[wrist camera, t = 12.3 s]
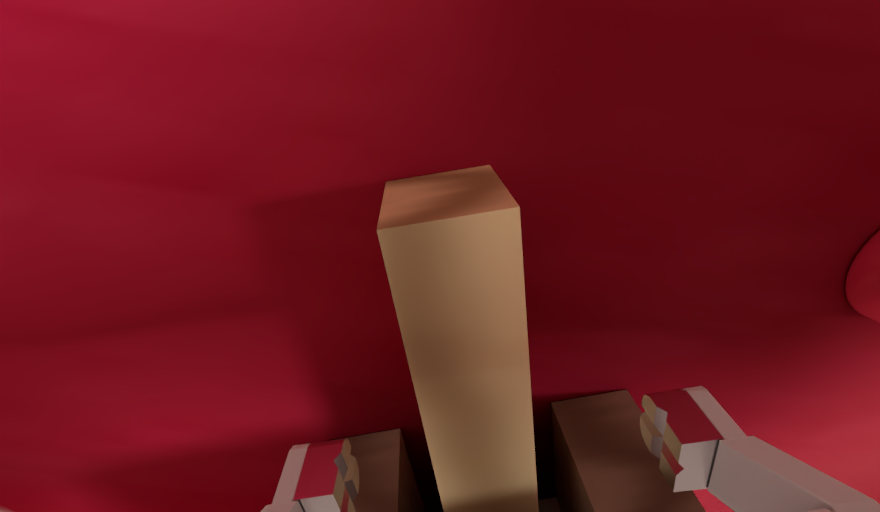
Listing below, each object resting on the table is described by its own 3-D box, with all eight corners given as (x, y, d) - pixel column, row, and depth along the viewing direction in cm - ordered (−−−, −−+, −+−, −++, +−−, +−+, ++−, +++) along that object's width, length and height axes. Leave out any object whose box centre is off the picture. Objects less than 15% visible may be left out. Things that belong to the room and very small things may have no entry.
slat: (488, 163, 16) (519, 206, 11) (517, 466, 24) (542, 562, 19) (386, 179, 16) (376, 229, 11) (449, 476, 24) (458, 574, 19)
